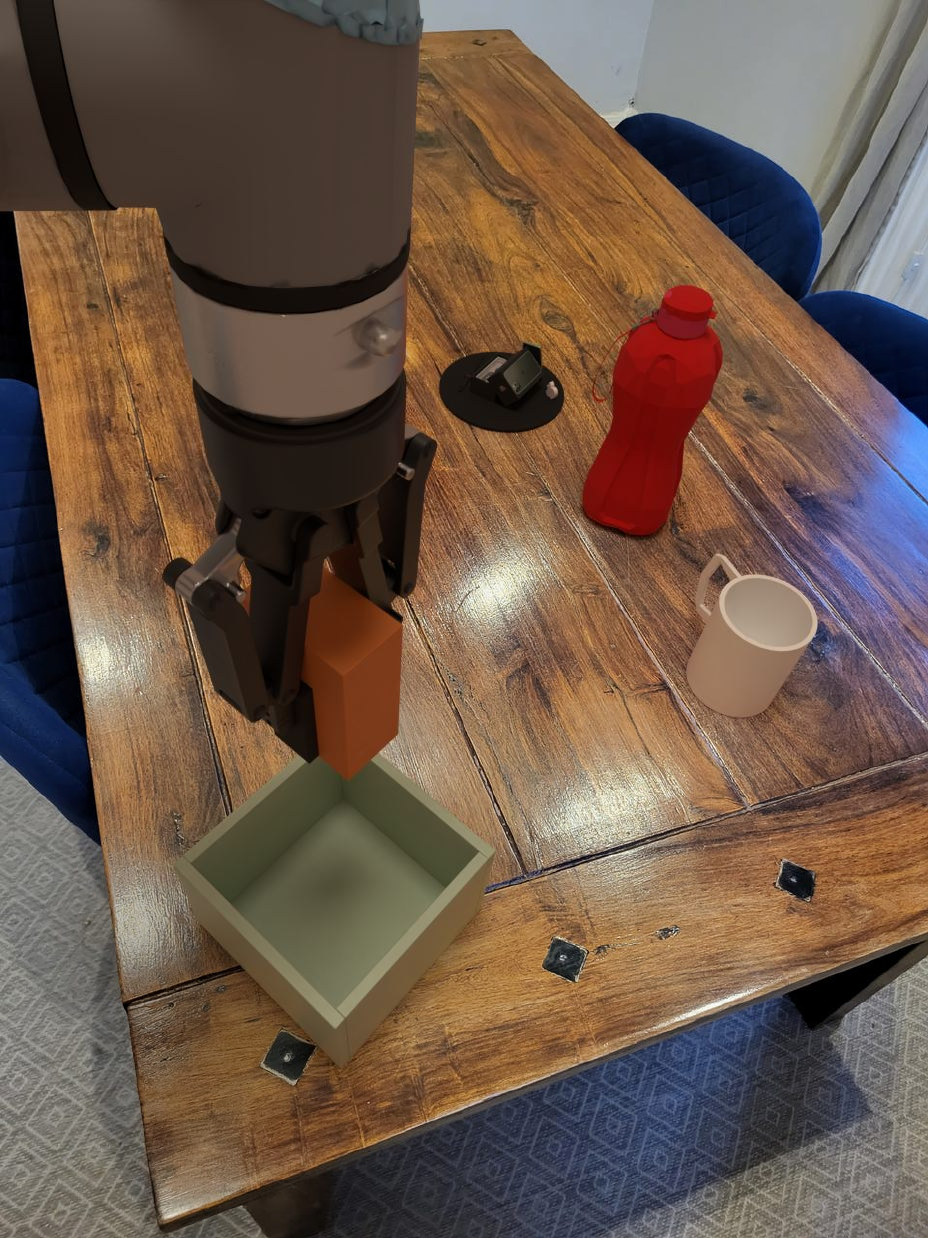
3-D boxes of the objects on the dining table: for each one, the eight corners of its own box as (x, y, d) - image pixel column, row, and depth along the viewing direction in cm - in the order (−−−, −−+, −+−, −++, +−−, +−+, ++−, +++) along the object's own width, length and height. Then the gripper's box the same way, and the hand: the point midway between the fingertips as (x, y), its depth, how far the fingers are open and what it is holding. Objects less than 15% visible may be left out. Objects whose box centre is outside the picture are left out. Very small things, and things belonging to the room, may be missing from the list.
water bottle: (582, 462, 98) (632, 250, 78) (676, 493, 96) (753, 283, 76) (555, 514, 92) (603, 300, 73) (655, 549, 90) (732, 338, 71)
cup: (718, 605, 86) (752, 534, 78) (792, 700, 80) (838, 634, 72) (647, 628, 84) (675, 557, 76) (719, 729, 77) (757, 663, 69)
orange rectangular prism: (348, 782, 47) (343, 676, 39) (259, 706, 49) (237, 592, 42) (398, 734, 49) (403, 624, 41) (310, 664, 51) (299, 548, 44)
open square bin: (341, 1070, 58) (335, 1029, 50) (198, 922, 63) (171, 864, 55) (481, 908, 66) (496, 850, 57) (343, 788, 71) (339, 719, 63)
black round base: (524, 449, 98) (530, 410, 94) (414, 397, 103) (416, 357, 98) (585, 385, 107) (594, 346, 102) (481, 339, 111) (485, 300, 107)
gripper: (172, 546, 25) (257, 870, 43) (530, 314, 34) (475, 664, 52) (18, 424, 28) (160, 778, 46) (387, 238, 36) (383, 597, 55)
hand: (327, 717), depth 49 cm, fingers closed on orange rectangular prism, 4 cm apart
